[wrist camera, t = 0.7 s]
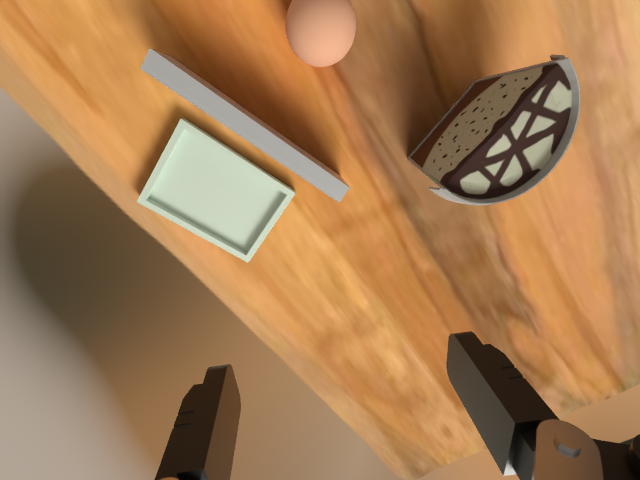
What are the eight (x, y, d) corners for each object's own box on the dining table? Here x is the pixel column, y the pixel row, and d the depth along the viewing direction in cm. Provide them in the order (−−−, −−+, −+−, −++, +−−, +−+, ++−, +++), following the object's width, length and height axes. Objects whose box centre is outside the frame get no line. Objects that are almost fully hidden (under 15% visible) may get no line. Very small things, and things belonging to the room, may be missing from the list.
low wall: (172, 57, 28) (150, 48, 23) (340, 176, 33) (349, 187, 28) (163, 74, 28) (140, 68, 23) (331, 188, 33) (339, 202, 29)
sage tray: (184, 118, 29) (180, 118, 28) (295, 190, 33) (295, 193, 32) (141, 198, 32) (136, 201, 31) (249, 257, 35) (248, 262, 34)
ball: (309, -21, 26) (315, -51, 21) (361, 26, 28) (378, 9, 23) (272, 42, 28) (270, 28, 23) (324, 83, 30) (333, 79, 24)
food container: (435, 205, 35) (489, 240, 26) (396, 169, 33) (439, 195, 24) (524, 111, 32) (619, 114, 23) (487, 66, 30) (575, 50, 21)
